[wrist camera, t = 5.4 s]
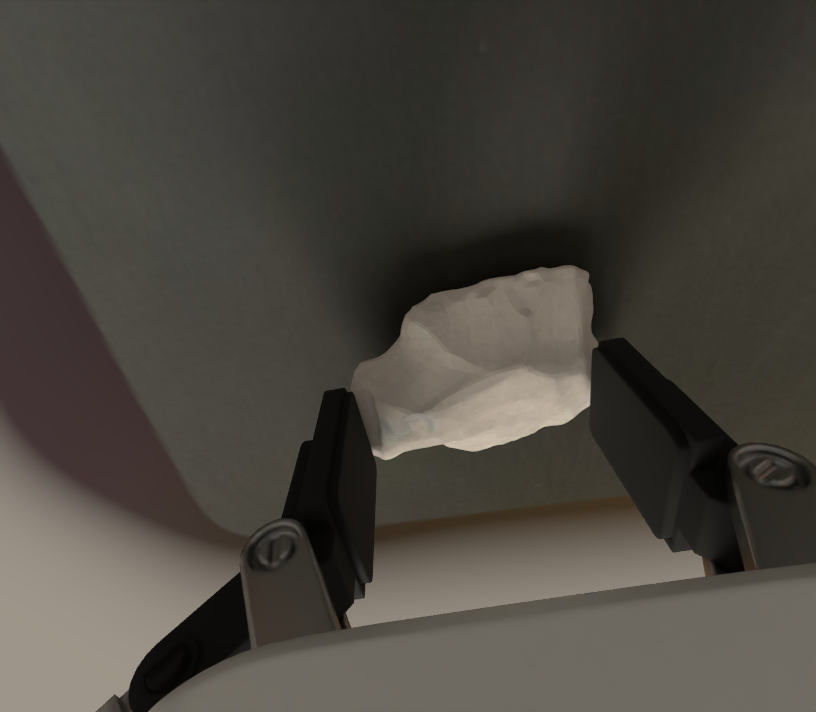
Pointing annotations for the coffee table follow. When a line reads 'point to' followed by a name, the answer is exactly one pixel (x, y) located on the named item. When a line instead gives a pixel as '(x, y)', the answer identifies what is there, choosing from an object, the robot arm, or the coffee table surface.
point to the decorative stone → (482, 364)
